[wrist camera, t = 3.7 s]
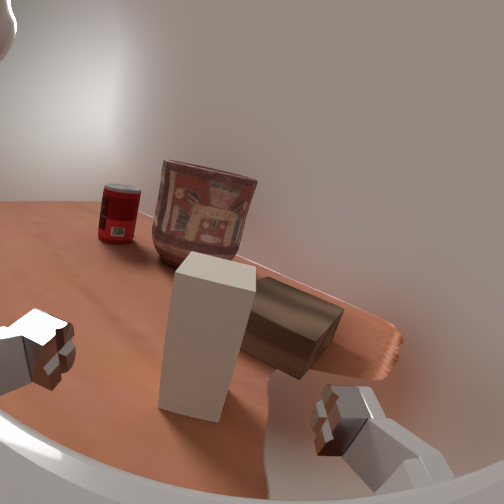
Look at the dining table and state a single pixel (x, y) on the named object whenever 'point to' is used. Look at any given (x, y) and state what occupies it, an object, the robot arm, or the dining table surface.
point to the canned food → (118, 213)
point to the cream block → (204, 334)
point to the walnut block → (289, 327)
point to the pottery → (200, 212)
